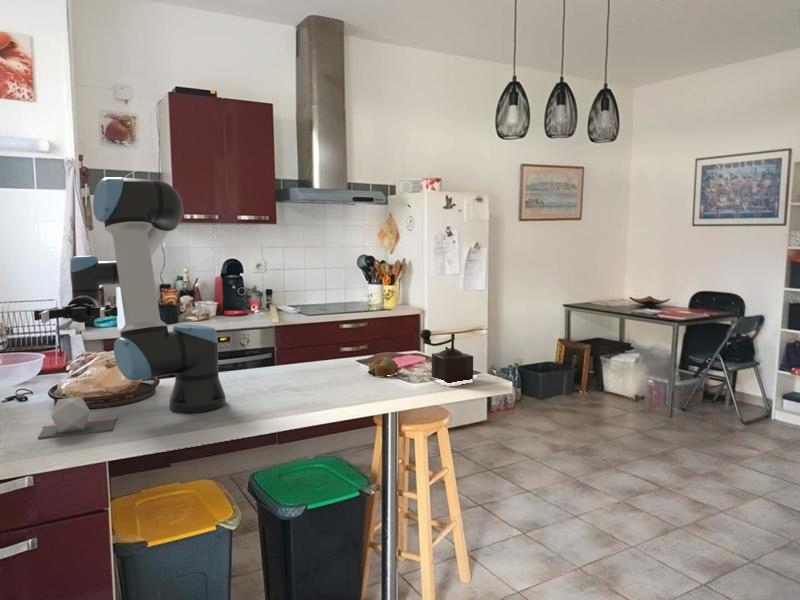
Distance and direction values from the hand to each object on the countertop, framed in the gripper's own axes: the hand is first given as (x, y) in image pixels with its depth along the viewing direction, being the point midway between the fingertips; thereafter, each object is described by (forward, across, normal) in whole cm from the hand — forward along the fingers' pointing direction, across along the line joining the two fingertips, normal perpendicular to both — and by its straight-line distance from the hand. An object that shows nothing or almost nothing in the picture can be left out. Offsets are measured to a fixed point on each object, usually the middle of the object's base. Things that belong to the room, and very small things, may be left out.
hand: (72, 316), depth 153 cm
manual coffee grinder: (+2, -108, -29) cm, 112 cm away
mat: (+11, -1, -27) cm, 30 cm away
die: (+12, 0, -27) cm, 30 cm away
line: (+5, -1, -27) cm, 28 cm away
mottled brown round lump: (-16, -93, -28) cm, 98 cm away
